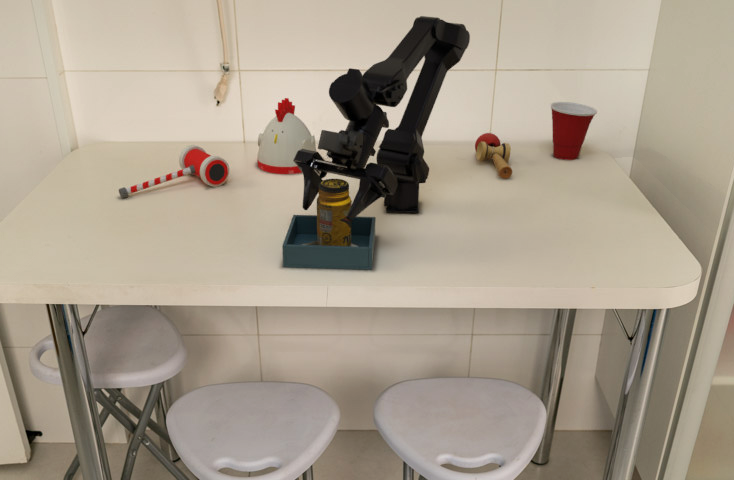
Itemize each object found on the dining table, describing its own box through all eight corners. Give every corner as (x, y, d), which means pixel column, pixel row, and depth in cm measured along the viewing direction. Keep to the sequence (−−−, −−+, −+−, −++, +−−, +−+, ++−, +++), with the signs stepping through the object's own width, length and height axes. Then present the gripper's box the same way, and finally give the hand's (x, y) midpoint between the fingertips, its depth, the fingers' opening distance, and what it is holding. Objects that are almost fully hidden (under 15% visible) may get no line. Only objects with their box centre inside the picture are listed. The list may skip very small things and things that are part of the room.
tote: (375, 237, 145) (375, 216, 143) (371, 269, 133) (372, 248, 131) (294, 234, 146) (293, 214, 144) (283, 267, 134) (282, 245, 132)
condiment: (361, 249, 139) (361, 184, 133) (322, 261, 135) (321, 194, 129) (336, 236, 144) (336, 173, 138) (298, 247, 140) (296, 182, 134)
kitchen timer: (247, 169, 179) (242, 102, 171) (274, 152, 190) (271, 89, 182) (301, 177, 174) (299, 109, 167) (327, 159, 185) (326, 95, 178)
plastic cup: (594, 163, 183) (603, 112, 177) (548, 163, 183) (555, 111, 177) (583, 150, 192) (591, 100, 186) (539, 149, 192) (545, 100, 186)
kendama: (524, 183, 175) (501, 148, 189) (523, 157, 171) (500, 124, 185) (490, 190, 175) (469, 155, 189) (489, 165, 171) (468, 131, 185)
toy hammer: (133, 206, 158) (128, 176, 155) (110, 190, 166) (105, 161, 163) (231, 183, 170) (229, 155, 167) (205, 169, 178) (202, 142, 175)
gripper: (297, 102, 134) (261, 182, 132) (391, 118, 126) (353, 203, 123) (324, 137, 144) (290, 211, 142) (412, 153, 135) (378, 233, 133)
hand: (326, 214), depth 135 cm, fingers open, 9 cm apart
